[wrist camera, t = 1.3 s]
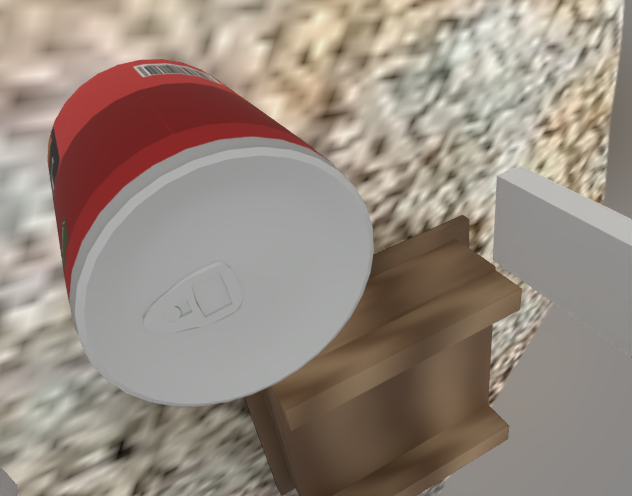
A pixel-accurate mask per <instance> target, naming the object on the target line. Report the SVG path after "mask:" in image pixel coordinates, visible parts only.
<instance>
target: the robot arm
mask: <svg viewBox="0 0 632 496" xmlns="http://www.w3.org/2000/svg"><path fill="white" fill-rule="evenodd" d="M493 260H494V261H495V262H497V263H498V264H499V265H501V266H502V267H504V268H505V269H506V270H508V271H509V272H511V273H512V274H514V275H515V276H516V277H518V278H519V279H521V280H522V281H523V282H525V283H526V284H528V285H529V286H531V287H532V288H533V289H535V290H536V291H538V292H539V293H540V294H542V295H543V296H545V297H546V298H548V299H549V300H550V301H552V302H553V303H555V304H556V305H558V306H559V307H560V308H562V309H564V310H565V311H566V312H568V313H569V314H570V315H572V316H573V317H574V318H576V319H577V320H579V321H580V322H582V323H583V324H584V325H586V326H587V327H589V328H590V329H591V330H593V331H594V332H596V333H597V334H599V335H600V336H602V337H603V338H604V339H606V340H607V341H608V342H610V343H611V344H613V345H614V346H616V347H617V348H619V349H620V350H621V351H623V352H624V353H626V354H627V355H628V356H630V357H631V358H632V219H630V218H628V217H626V216H624V215H621V214H620V213H618V212H615V211H613V210H611V209H609V208H607V207H605V206H603V205H601V204H599V203H597V202H595V201H593V200H590V199H588V198H586V197H584V196H582V195H580V194H578V193H576V192H574V191H572V190H570V189H568V188H565V187H563V186H561V185H559V184H557V183H555V182H553V181H551V180H549V179H547V178H545V177H542V176H540V175H538V174H536V173H534V172H532V171H530V170H528V169H526V168H524V167H522V166H519V167H516V168H514V169H512V170H509V171H507V172H504V173H502V174H500V175H497V187H496V207H495V227H494V247H493ZM0 496H17V484H16V483H15V482H14V481H13V480H12V479H11V478H10V477H9V475H8V474H7V473H6V472H5V471H4V470H3V469H2V468H1V467H0Z"/></svg>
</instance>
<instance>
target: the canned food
mask: <svg viewBox="0 0 632 496" xmlns="http://www.w3.org/2000/svg"><path fill="white" fill-rule="evenodd" d="M48 167H49V174H50V181H51V187H52V194H53V201H54V208H55V215H56V222H57V229H58V236H59V243H60V249H61V256H62V263H63V270H64V277H65V282H66V288H67V294H68V299H69V303H70V307H71V313H72V318H73V324H74V328H75V330H76V332H77V334H78V336H79V340H80V342H81V344H82V346H83V348H84V350H85V352H86V354H87V356H88V358H89V360H90V362H91V363H92V365H93V366H94V367H95V368H96V369H97V370H98V371H99V372H100V373H101V375H102V376H103V377H104V378H105V379H106V380H107V381H109V382H110V383H112V384H113V385H115V386H116V387H118V388H119V389H121V390H122V391H124V392H125V393H127V394H129V395H132V396H135V397H137V398H140V399H143V400H146V401H148V402H151V403H158V404H164V405H170V406H206V405H212V404H218V403H224V402H229V401H232V400H236V399H239V398H242V397H245V396H248V395H252V394H254V393H257V392H259V391H261V390H263V389H265V388H268V387H270V386H272V385H274V384H276V383H278V382H280V381H281V380H283V379H285V378H286V377H288V376H289V375H291V374H293V373H294V372H296V371H298V370H299V369H301V368H302V367H303V366H304V365H305V364H307V363H308V362H309V361H310V360H312V359H313V358H314V357H315V356H317V355H318V354H319V353H320V352H321V351H322V350H323V349H324V348H325V347H326V346H327V345H328V344H329V343H330V342H331V341H332V340H333V339H334V338H335V337H336V336H337V334H338V333H339V332H340V330H341V329H342V328H343V326H344V325H345V324H346V322H347V321H348V320H349V318H350V317H351V315H352V314H353V312H354V310H355V308H356V306H357V304H358V302H359V301H360V299H361V297H362V295H363V292H364V290H365V287H366V284H367V281H368V278H369V275H370V272H371V265H372V259H373V252H374V244H373V228H372V224H371V221H370V217H369V214H368V210H367V207H366V205H365V203H364V202H363V200H362V198H361V196H360V195H359V193H358V191H357V189H356V188H355V187H354V186H353V185H352V184H351V183H350V182H349V181H348V179H347V178H346V177H345V176H344V175H343V174H342V173H341V172H340V171H339V170H338V169H337V168H336V167H335V166H334V165H333V164H332V163H331V162H330V161H329V160H328V159H326V158H325V157H323V156H322V155H321V154H319V153H318V152H317V151H316V150H314V149H313V148H312V147H311V146H310V145H308V144H307V143H306V142H304V141H303V140H301V139H300V138H298V137H297V136H296V135H294V134H293V133H291V132H290V131H289V130H287V129H286V128H284V127H283V126H282V125H280V124H279V123H277V122H276V121H275V120H273V119H272V118H270V117H269V116H268V115H266V114H265V113H263V112H262V111H260V110H259V109H258V108H256V107H255V106H253V105H252V104H251V103H249V102H248V101H246V100H245V99H244V98H242V97H241V96H239V95H238V94H237V93H235V92H234V91H232V90H231V89H230V88H228V87H227V86H225V85H224V84H223V83H221V82H220V81H218V80H217V79H215V78H214V77H212V76H210V75H209V74H207V73H206V72H204V71H202V70H200V69H198V68H195V67H192V66H190V65H187V64H184V63H181V62H175V61H169V60H163V59H157V60H138V61H133V62H129V63H124V64H120V65H117V66H115V67H112V68H110V69H108V70H106V71H103V72H101V73H99V74H97V75H96V76H94V77H93V78H92V79H90V80H89V81H87V82H86V83H85V84H83V85H82V86H80V87H79V88H78V90H77V91H76V92H75V93H74V94H73V95H72V96H71V97H70V98H69V99H68V100H67V102H66V103H65V104H64V106H63V108H62V109H61V111H60V113H59V115H58V116H57V118H56V120H55V122H54V125H53V129H52V132H51V135H50V138H49V146H48Z"/></svg>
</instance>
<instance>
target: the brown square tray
mask: <svg viewBox="0 0 632 496" xmlns="http://www.w3.org/2000/svg"><path fill="white" fill-rule="evenodd" d="M521 293H522V288H520V287H519V286H517V285H516V284H515V283H513V282H512V281H510V280H509V279H507V278H506V277H505V276H503V275H502V274H500V273H499V272H497V271H496V270H495V266H494V265H493V264H491V263H490V262H488V261H487V260H485V259H484V258H483V257H481V256H480V255H478V254H477V253H475V252H474V251H472V250H471V249H470V248H469V219H468V218H466V217H465V216H463V215H462V216H460V217H457V218H455V219H453V220H451V221H448V222H446V223H444V224H442V225H439V226H437V227H435V228H433V229H431V230H428V231H426V232H424V233H422V234H419V235H417V236H415V237H413V238H410V239H408V240H406V241H404V242H401V243H399V244H397V245H395V246H393V247H390V248H388V249H386V250H384V251H381V252H379V253H377V254H375V255H373V259H372V265H371V272H370V275H369V278H368V281H367V284H366V287H365V290H364V292H363V295H362V297H361V299H360V301H359V302H358V304H357V306H356V308H355V310H354V312H353V314H352V315H351V317H350V318H349V320H348V321H347V322H346V324H345V325H344V326H343V328H342V329H341V330H340V332H339V333H338V334H337V336H336V337H335V338H334V339H333V340H332V341H331V342H330V343H329V344H328V345H327V346H326V347H325V348H324V349H323V350H322V351H321V352H320V353H319V354H318V355H317V356H315V357H314V358H313V359H312V360H310V361H309V362H308V363H307V364H305V365H304V366H303V367H302V368H301V369H299V370H298V371H296V372H294V373H293V374H291V375H289V376H288V377H286V378H285V379H283V380H281V381H280V382H278V383H276V384H274V385H272V386H270V387H268V388H265V389H263V390H261V391H259V392H257V393H254V394H252V395H248V396H245V397H244V398H245V401H246V404H247V406H248V409H249V412H250V414H251V417H252V420H253V423H254V425H255V428H256V431H257V433H258V436H259V439H260V442H261V444H262V447H263V450H264V452H265V455H266V458H267V460H268V463H269V466H270V469H271V471H272V474H273V477H274V479H275V482H276V485H277V488H278V490H279V492H280V494H281V496H282V495H284V494H286V493H287V492H289V491H291V490H293V489H294V488H296V490H297V492H298V494H299V496H416V495H418V494H420V493H421V492H423V491H425V490H426V489H428V488H429V487H431V486H433V485H434V484H436V483H438V482H439V481H441V480H442V479H444V478H446V477H447V476H449V475H450V474H452V473H454V472H455V471H457V470H458V469H460V468H462V467H463V466H465V465H466V464H468V463H470V462H471V461H473V460H475V459H476V458H478V457H480V456H481V455H483V454H484V453H486V452H488V451H489V450H491V449H493V448H494V447H496V446H497V445H499V444H501V443H502V442H504V441H505V440H507V439H508V433H509V425H508V424H507V423H506V422H505V421H504V420H503V419H502V418H501V417H500V416H499V415H498V414H497V413H496V412H495V411H494V410H493V409H492V408H491V407H490V406H489V405H488V399H489V380H490V361H491V342H492V324H494V323H495V322H497V321H499V320H501V319H503V318H505V317H507V316H509V315H511V314H512V313H514V312H516V311H518V310H520V304H521Z"/></svg>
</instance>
